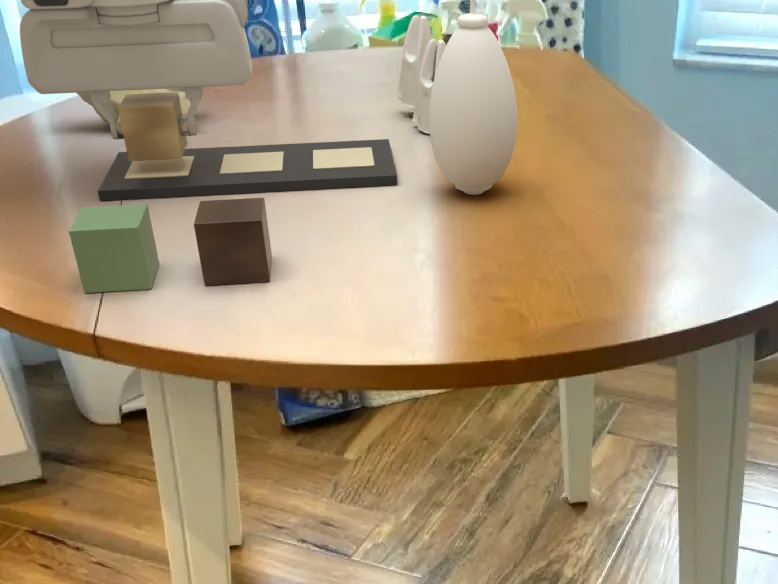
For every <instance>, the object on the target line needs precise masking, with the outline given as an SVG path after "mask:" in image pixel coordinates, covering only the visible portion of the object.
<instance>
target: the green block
mask: <svg viewBox="0 0 778 584" xmlns="http://www.w3.org/2000/svg"><path fill="white" fill-rule="evenodd" d="M149 209H150V208H149V205H148V204H147V203H143V204H142V203H140V204H139V203H138V204H120V205H103V206H102V205H101V206H85V207H83V206H82V207H81V208H80V210H79V212H78V213H77V215H76V217H75V219H74V221H73V223H72V224H71V226H70V228H69V229H68V235H69V238H70V242H71V245H72V251H73V253H74V258H75V262H76V265H77V269H78V273H79V278H80V282H81V286H82V288H83V292H84V294H93V293H110V292H111V293H112V292H126V291H143V290H152V287H153V285H154V282H155V279H156V275H157V272H158V269H159V267H160V266H159V265H160V258H159V254H158V249H157V245H156V239H155V234H154V229H153V224H152V220H151V215H150V210H149Z"/></svg>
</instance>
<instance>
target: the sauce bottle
mask: <svg viewBox="0 0 778 584" xmlns="http://www.w3.org/2000/svg"><path fill="white" fill-rule="evenodd" d="M456 24H457V26H458V27H457V28H456V29H455V30H454V32H453V33H452V35H451V36H450V38H449V39H448V41H447V43H446V47H445V49H444V52H443V54H442V57H441V59H440V62H439V65H438V68H437V72H436V75H435V79H434V83H433V88H432V94H431V101H430V115H429V124H430V134H429V136H430V143H431V148H432V152H433V155H434V159H435V162H436V164H437V166H438V168H439V170H440V172H441V174H442V175H443V177H444V178H445V180H446V181H448V182H449V183H453V184H454V188H455V189H456V190H459V191H462V192H463V193H464V194H467V195H471V196H478V195H481V194H483V193H484V192H485V191H488V190H490V189H491V188H492V187H493V185H494V183H496V182H497V181H498V182H499V181H500V180H501V179H502V178H503V177H504V174H505V173H506V171H507V169H508V167H509V165H510V161H511V160H512V156H513V153H514V150H515V146H516V141H517V133H518V106H517V105H518V104H517V98H516V97H517V96H516V90H515V86H514V81H513V77H512V74H511V70H510V67H509V64H508V60H507V58H506V56H505V52H504V51H503V49H502V46H501V44H500V42H499V41H498V38H497V36H496V35H495V33H494V32H493V31H492V30H491V29H490V28H489V26H488V25H489V18H488V16H487V15H485V14H483V13H477V5H476V0H469V13H464V14H462V15H459V17H458V18H457V21H456Z"/></svg>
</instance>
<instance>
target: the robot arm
mask: <svg viewBox="0 0 778 584" xmlns="http://www.w3.org/2000/svg"><path fill="white" fill-rule="evenodd" d="M20 3H21V4H22V5H23V7H25V8H26V9H28V10H27V11H26V12H25V13H24V14H23V16H22V17H21V20H20V22H19V40H20V48H21V55H22V61H23V67H24V71H25V76H26V79H27V82H28V84H29V85H30V87H32V88H33V89H34V90H35V91H36V92H37V93H38V94H40V95H53V94H55V95H57V94H77V93H79V92H90V94H91V99H92V103H93V105H94V106H95V107H96V109H97V110H98V111H99V112H100V113H101V114H102V116H103V117H104V118H105V119H106V120H107V122H109V123H108V124H109V128H110V134H111V137H112V139H113V140H124V136H123V131H122V126H121V121H120V117H119V116H118V114H117V113H116V112H115V110H114V109H113V108H112V106H111V105H110V104H109V103H108V100H109V99H110V97H111V93H110V91H123V90H145V89H167V88H184V91H185V97H186V99H192V102H191V104H190V107H189V109H188V112H187V113H181V114H179V116H178V123H179V127H180V134H181V136H186V137H190V136H192V137H193V136H197V133H198V128H197V121H196V116H195V115H196V113H197V110H198V107H199V104H200V102H201V100H202V97H203V94H204V93H203V88H206V87H207V88H209V87H212V88H213V87H229V86H231V87H232V86H233V87H234V86H244V85H246V84H247V83H248V81H249V79H250V78H251V77H252V75H253V60H252V56H251V49H250V45H249V41H248V36H247V34H246V30H245V26H246V24H247V23H248V20H249V8H248V7H249V6H248V0H20Z"/></svg>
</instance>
